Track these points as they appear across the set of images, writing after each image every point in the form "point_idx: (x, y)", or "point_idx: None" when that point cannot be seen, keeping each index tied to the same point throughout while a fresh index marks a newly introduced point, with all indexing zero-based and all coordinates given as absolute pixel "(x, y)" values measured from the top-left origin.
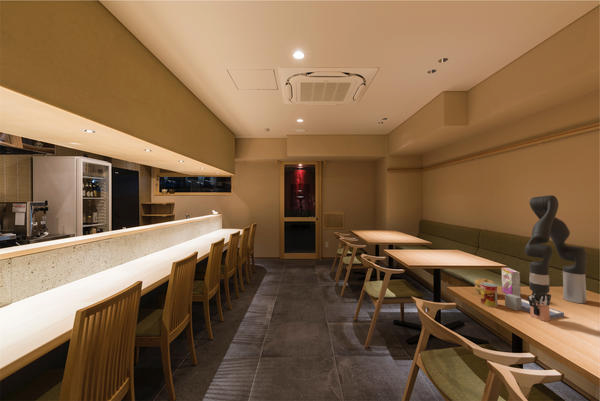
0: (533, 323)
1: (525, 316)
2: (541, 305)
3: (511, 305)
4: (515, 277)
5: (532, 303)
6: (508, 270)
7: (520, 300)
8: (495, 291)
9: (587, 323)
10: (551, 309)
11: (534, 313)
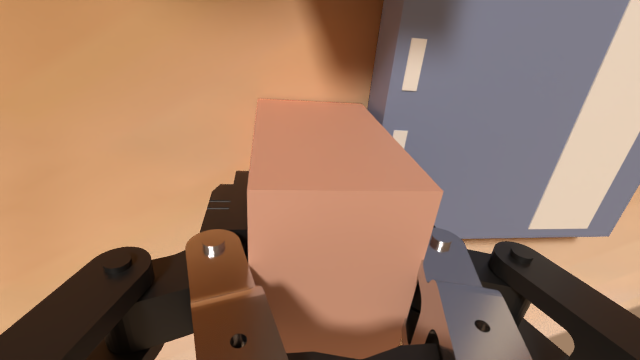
0: (80, 226)
1: (179, 76)
2: (324, 326)
3: None
4: None
5: (265, 225)
6: None
7: None
8: None
9: (539, 319)
10: (626, 149)
11: (219, 192)
